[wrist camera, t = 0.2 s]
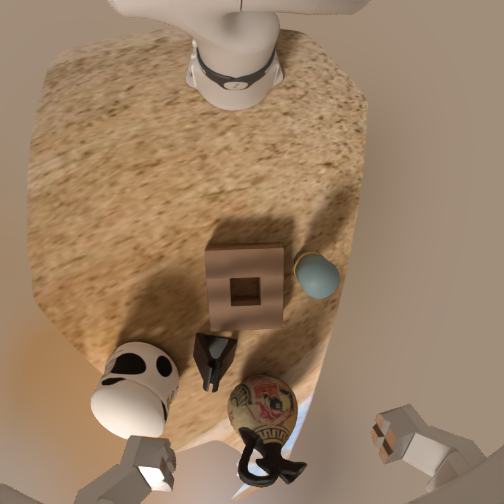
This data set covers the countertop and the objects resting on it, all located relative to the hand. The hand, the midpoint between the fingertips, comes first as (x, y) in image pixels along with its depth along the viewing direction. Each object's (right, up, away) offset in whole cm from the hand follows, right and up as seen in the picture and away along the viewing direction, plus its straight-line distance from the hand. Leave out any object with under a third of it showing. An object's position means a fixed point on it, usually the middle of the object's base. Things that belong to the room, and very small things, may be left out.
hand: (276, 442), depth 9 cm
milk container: (-26, -20, +52) cm, 61 cm away
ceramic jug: (0, -25, +55) cm, 60 cm away
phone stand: (-9, -14, +52) cm, 54 cm away
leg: (+9, +5, +48) cm, 49 cm away
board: (-2, +1, +48) cm, 48 cm away
